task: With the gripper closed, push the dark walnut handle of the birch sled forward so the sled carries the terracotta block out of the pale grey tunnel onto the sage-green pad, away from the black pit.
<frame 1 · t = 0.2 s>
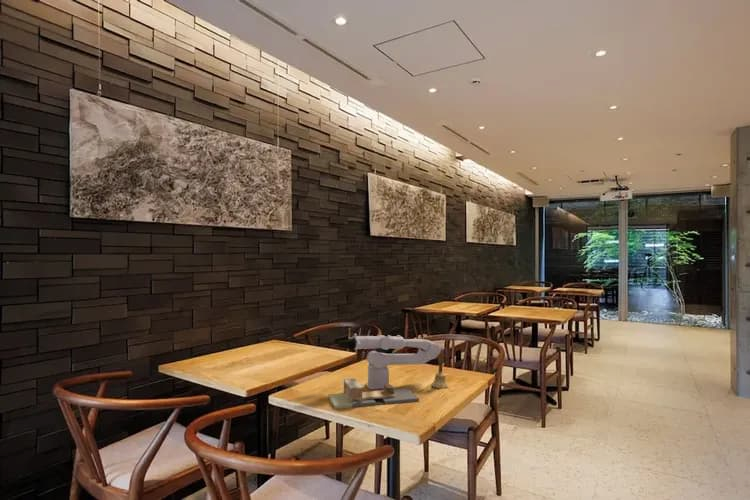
hand: (336, 342, 190), 21 cm above the table, tool horizontal, fingers open, 7 cm apart
tunnel: (352, 400, 177), resting on board
block: (352, 395, 177), point 2 cm above the table, touching sled
hand bell: (439, 386, 200), on the table
sled: (369, 391, 179), point 3 cm above the table, slide at 0.0 cm, touching block
board: (373, 399, 180), on the table
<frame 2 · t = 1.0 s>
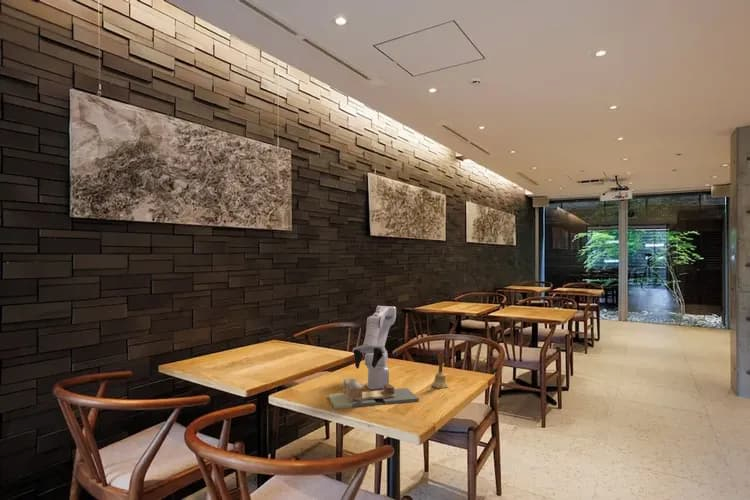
hand: (365, 366, 177), 14 cm above the table, tool tilted 45°, fingers open, 7 cm apart
nothing on the table moved.
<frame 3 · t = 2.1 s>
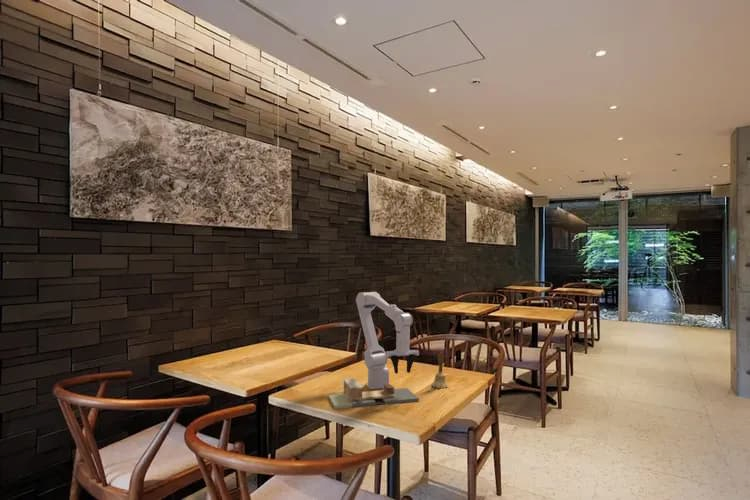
hand: (402, 372, 183), 10 cm above the table, tool pointing down, fingers open, 5 cm apart
nothing on the table moved.
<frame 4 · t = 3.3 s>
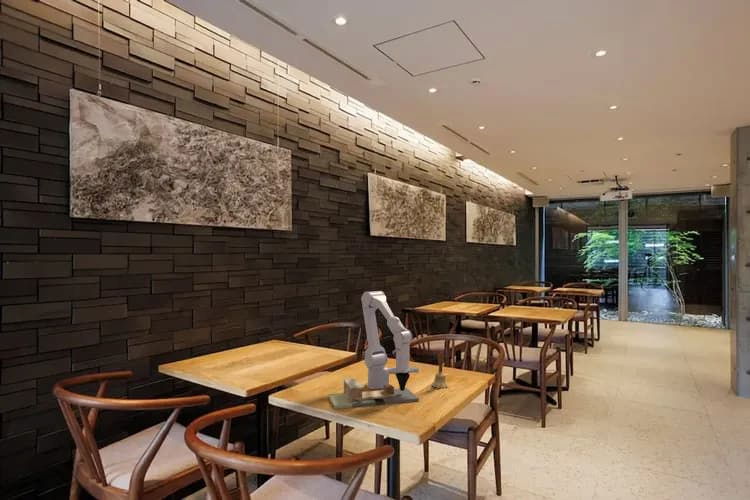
hand: (402, 390, 183), 3 cm above the table, tool pointing down, fingers closed
nothing on the table moved.
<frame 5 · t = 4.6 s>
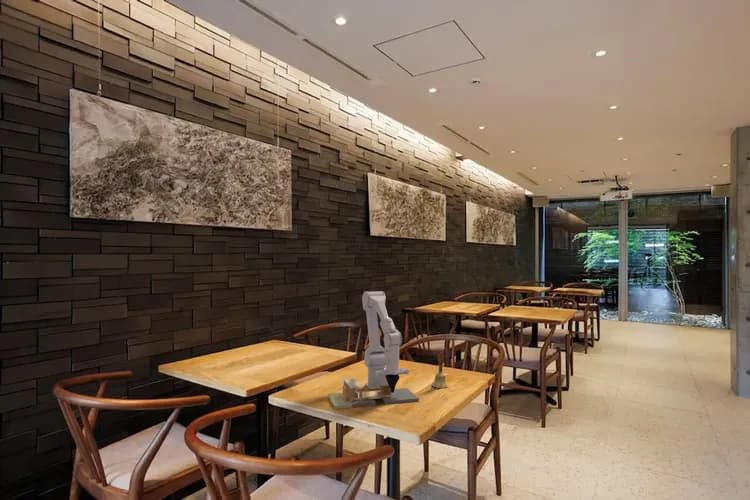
hand: (391, 391, 182), 2 cm above the table, tool pointing down, fingers closed
block: (349, 395, 176), point 2 cm above the table, touching sled
sled: (366, 392, 179), point 3 cm above the table, slide at 1.6 cm, touching block, gripper
everything else where it was.
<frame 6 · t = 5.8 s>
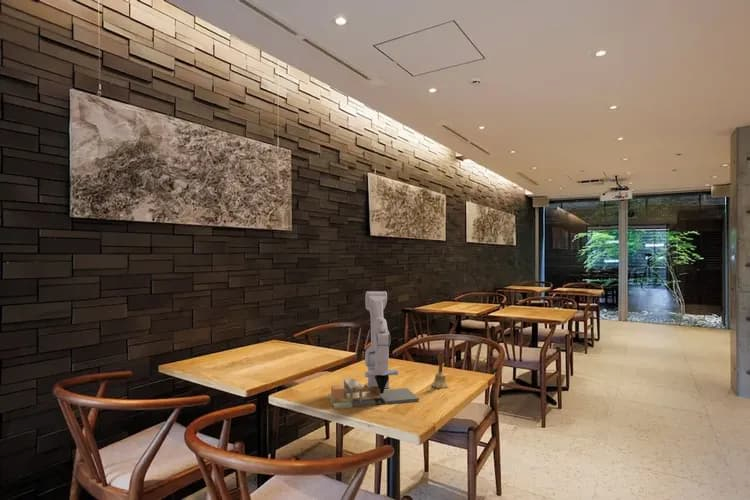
hand: (381, 392, 181), 2 cm above the table, tool pointing down, fingers closed
block: (337, 396, 175), point 2 cm above the table, touching sled
sled: (355, 393, 177), point 3 cm above the table, slide at 6.4 cm, touching block, gripper
everything else where it was.
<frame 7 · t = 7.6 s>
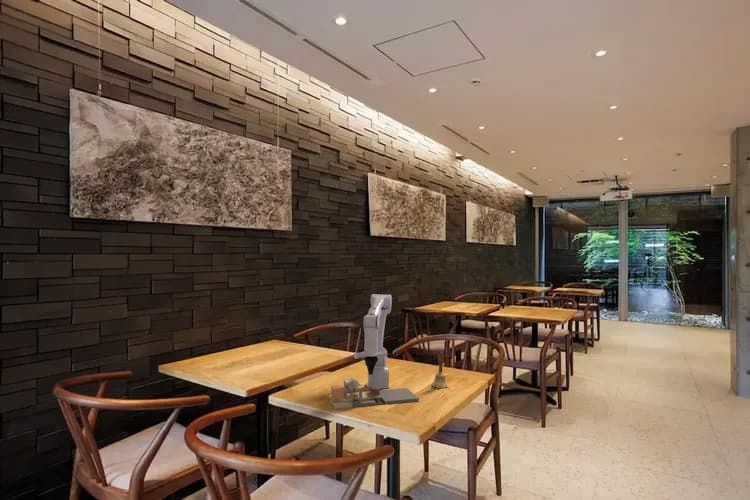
hand: (370, 374, 184), 9 cm above the table, tool pointing down, fingers closed
sled: (355, 393, 177), point 3 cm above the table, slide at 6.4 cm, touching block
everything else where it was.
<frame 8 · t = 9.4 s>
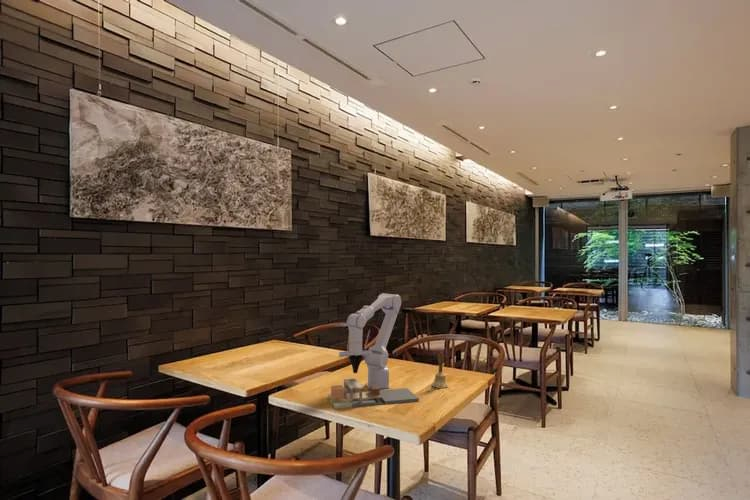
hand: (355, 372, 186), 9 cm above the table, tool pointing down, fingers closed
nothing on the table moved.
at the end: block 0.9 cm from the target spot, point 2.2 cm above the table; sled slide at 6.4 cm; block tilted 0° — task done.
